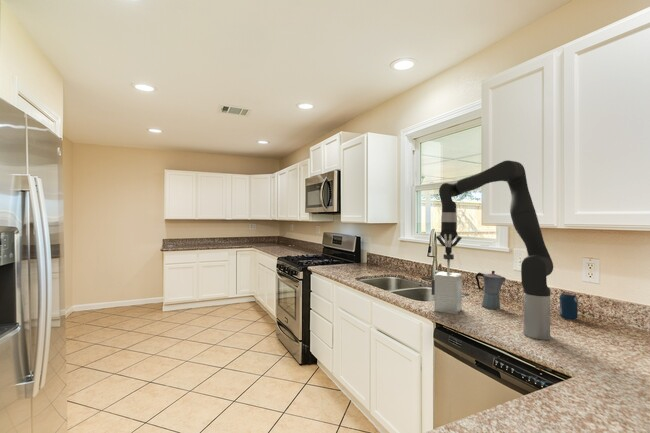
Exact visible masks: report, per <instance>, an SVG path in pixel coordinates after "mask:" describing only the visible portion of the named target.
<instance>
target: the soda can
mask: <svg viewBox="0 0 650 433" xmlns="http://www.w3.org/2000/svg"><path fill="white" fill-rule="evenodd" d="M578 299H579V298H578V297H577V294H576V293H573V292H565V291H564V292H561V293H560V295H559V316H560V317H561V319H563V320H567V321H576V320H577V319H578V316H579V315H578V301H579V300H578Z"/></svg>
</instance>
